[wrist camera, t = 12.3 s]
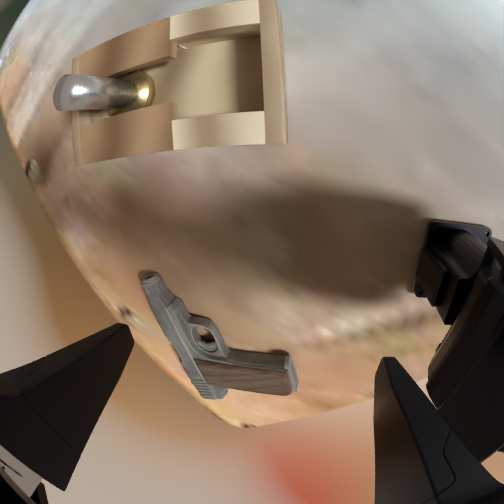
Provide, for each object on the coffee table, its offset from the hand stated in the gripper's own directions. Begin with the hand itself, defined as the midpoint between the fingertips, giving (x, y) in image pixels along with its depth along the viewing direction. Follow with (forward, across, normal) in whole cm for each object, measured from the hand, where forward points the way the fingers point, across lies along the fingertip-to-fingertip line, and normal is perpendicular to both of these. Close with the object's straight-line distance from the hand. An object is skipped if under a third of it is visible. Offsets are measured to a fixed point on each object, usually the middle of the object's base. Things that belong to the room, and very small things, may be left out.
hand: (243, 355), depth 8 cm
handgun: (+14, +6, +12) cm, 19 cm away
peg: (+13, +12, -11) cm, 21 cm away
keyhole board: (+13, +9, -11) cm, 19 cm away
